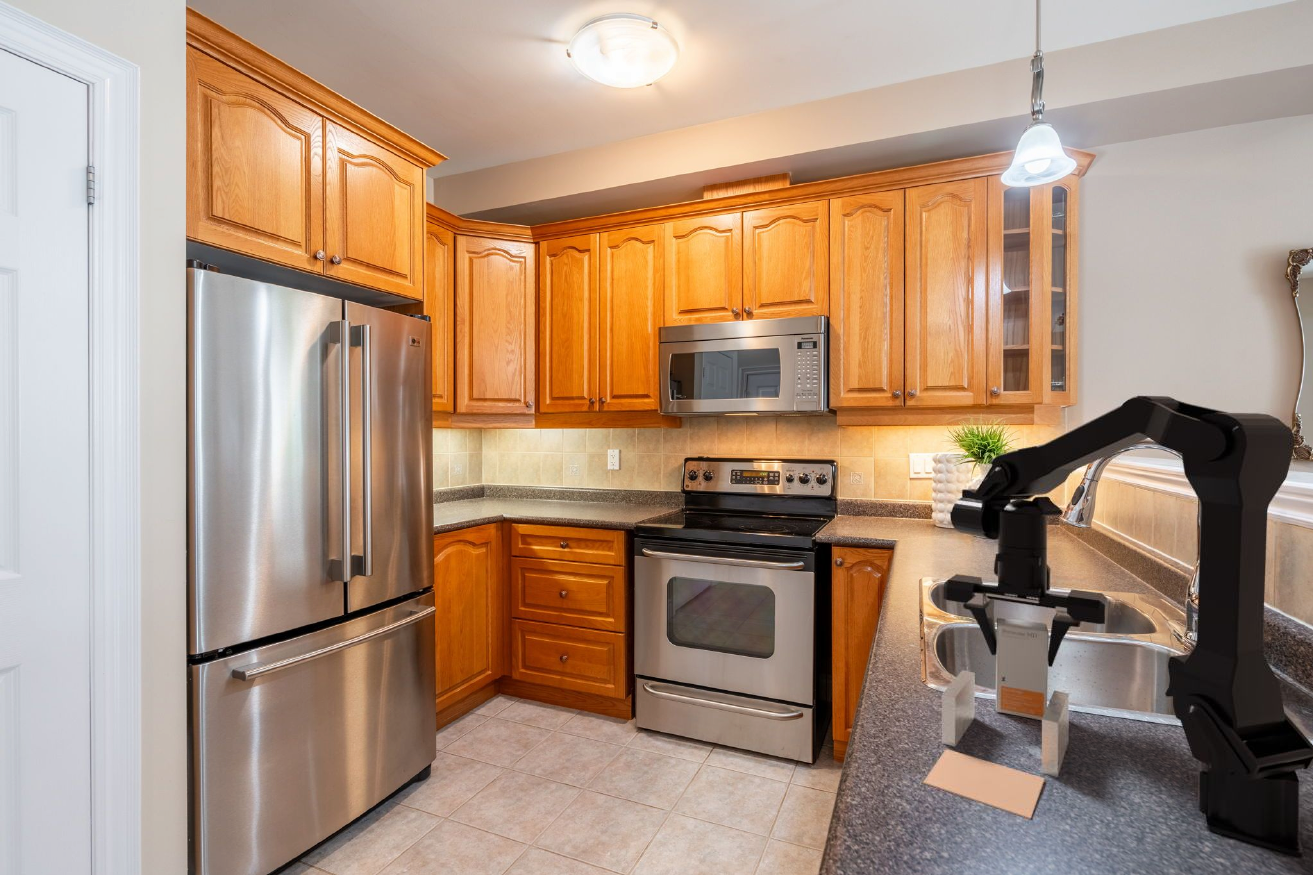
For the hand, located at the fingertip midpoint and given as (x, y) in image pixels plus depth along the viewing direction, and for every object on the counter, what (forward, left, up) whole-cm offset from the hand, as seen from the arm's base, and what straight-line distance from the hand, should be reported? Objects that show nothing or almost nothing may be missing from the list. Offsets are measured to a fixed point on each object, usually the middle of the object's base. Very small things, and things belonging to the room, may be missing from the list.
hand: (1021, 660), depth 85 cm
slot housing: (0, +11, -7) cm, 13 cm away
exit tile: (0, +23, -7) cm, 24 cm away
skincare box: (0, 0, -7) cm, 7 cm away
